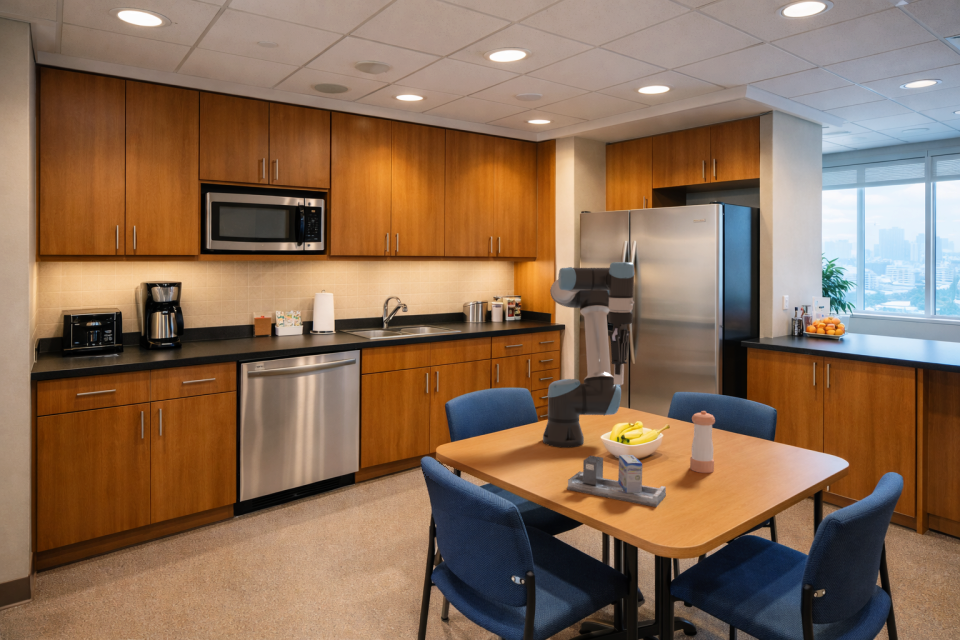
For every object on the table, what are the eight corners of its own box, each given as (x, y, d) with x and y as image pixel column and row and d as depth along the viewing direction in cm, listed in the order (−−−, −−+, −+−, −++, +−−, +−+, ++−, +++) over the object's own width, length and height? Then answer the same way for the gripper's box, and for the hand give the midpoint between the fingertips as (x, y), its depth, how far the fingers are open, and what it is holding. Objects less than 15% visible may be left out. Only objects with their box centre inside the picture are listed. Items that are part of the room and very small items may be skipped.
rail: (567, 489, 179) (567, 460, 179) (580, 479, 188) (580, 451, 187) (656, 507, 166) (657, 475, 165) (665, 495, 175) (666, 465, 174)
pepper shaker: (718, 472, 195) (720, 413, 194) (697, 473, 194) (698, 414, 193) (706, 465, 202) (708, 408, 201) (685, 466, 201) (687, 408, 200)
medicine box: (617, 483, 179) (618, 454, 178) (632, 483, 179) (633, 454, 178) (626, 493, 171) (627, 463, 170) (642, 493, 171) (642, 462, 171)
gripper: (625, 313, 187) (623, 389, 189) (638, 309, 198) (636, 381, 201) (602, 312, 191) (600, 386, 193) (615, 308, 202) (614, 379, 204)
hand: (618, 383), depth 197 cm, fingers closed
